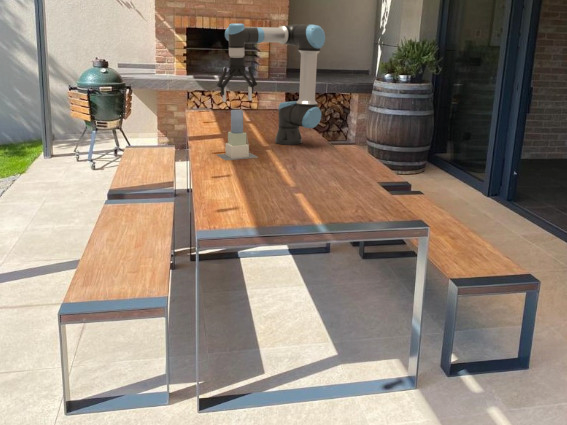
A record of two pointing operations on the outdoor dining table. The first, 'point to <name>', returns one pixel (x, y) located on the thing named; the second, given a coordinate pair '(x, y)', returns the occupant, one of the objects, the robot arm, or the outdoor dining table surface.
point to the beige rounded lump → (246, 138)
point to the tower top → (236, 139)
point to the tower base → (237, 151)
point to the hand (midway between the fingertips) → (237, 101)
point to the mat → (235, 158)
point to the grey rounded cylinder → (236, 121)
